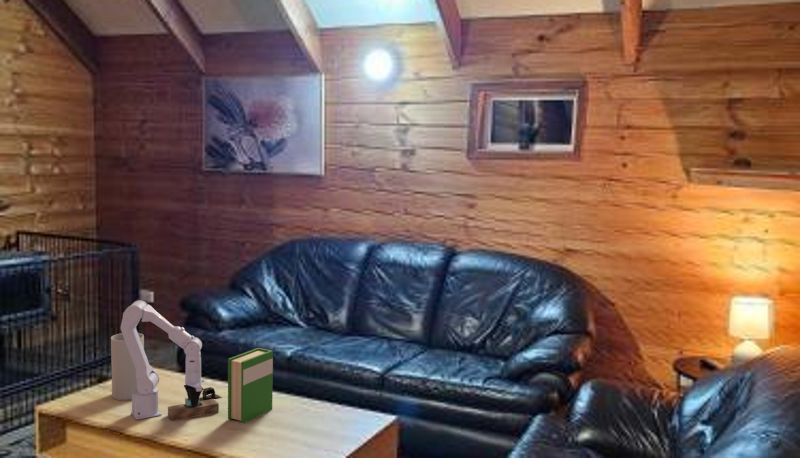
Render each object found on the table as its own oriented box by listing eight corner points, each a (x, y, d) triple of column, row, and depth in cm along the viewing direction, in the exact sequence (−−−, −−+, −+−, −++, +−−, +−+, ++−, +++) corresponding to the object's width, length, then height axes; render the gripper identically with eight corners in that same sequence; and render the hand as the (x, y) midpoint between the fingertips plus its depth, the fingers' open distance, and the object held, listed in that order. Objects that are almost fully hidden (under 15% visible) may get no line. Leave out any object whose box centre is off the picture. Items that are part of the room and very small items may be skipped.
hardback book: (242, 423, 270) (243, 362, 267) (227, 419, 273) (228, 358, 270) (272, 409, 285) (272, 350, 282) (257, 405, 289) (258, 347, 286)
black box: (198, 405, 288) (198, 394, 288) (190, 400, 294) (190, 389, 293) (226, 398, 297) (226, 388, 296) (218, 393, 302) (218, 383, 302)
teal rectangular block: (187, 415, 275) (186, 400, 275) (185, 413, 277) (185, 398, 277) (200, 412, 278) (199, 397, 277) (198, 410, 280) (197, 396, 279)
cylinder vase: (111, 392, 298) (110, 334, 295) (142, 388, 303) (142, 331, 300) (112, 402, 287) (111, 342, 284) (145, 398, 292) (145, 339, 289)
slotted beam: (172, 420, 271) (172, 411, 270) (167, 415, 276) (167, 406, 275) (218, 412, 280) (218, 403, 280) (213, 407, 285) (213, 398, 285)
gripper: (209, 373, 272) (209, 408, 274) (197, 363, 284) (197, 396, 286) (191, 376, 268) (191, 411, 270) (179, 365, 280) (180, 399, 282)
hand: (193, 403), depth 277 cm, fingers closed on teal rectangular block, 2 cm apart
